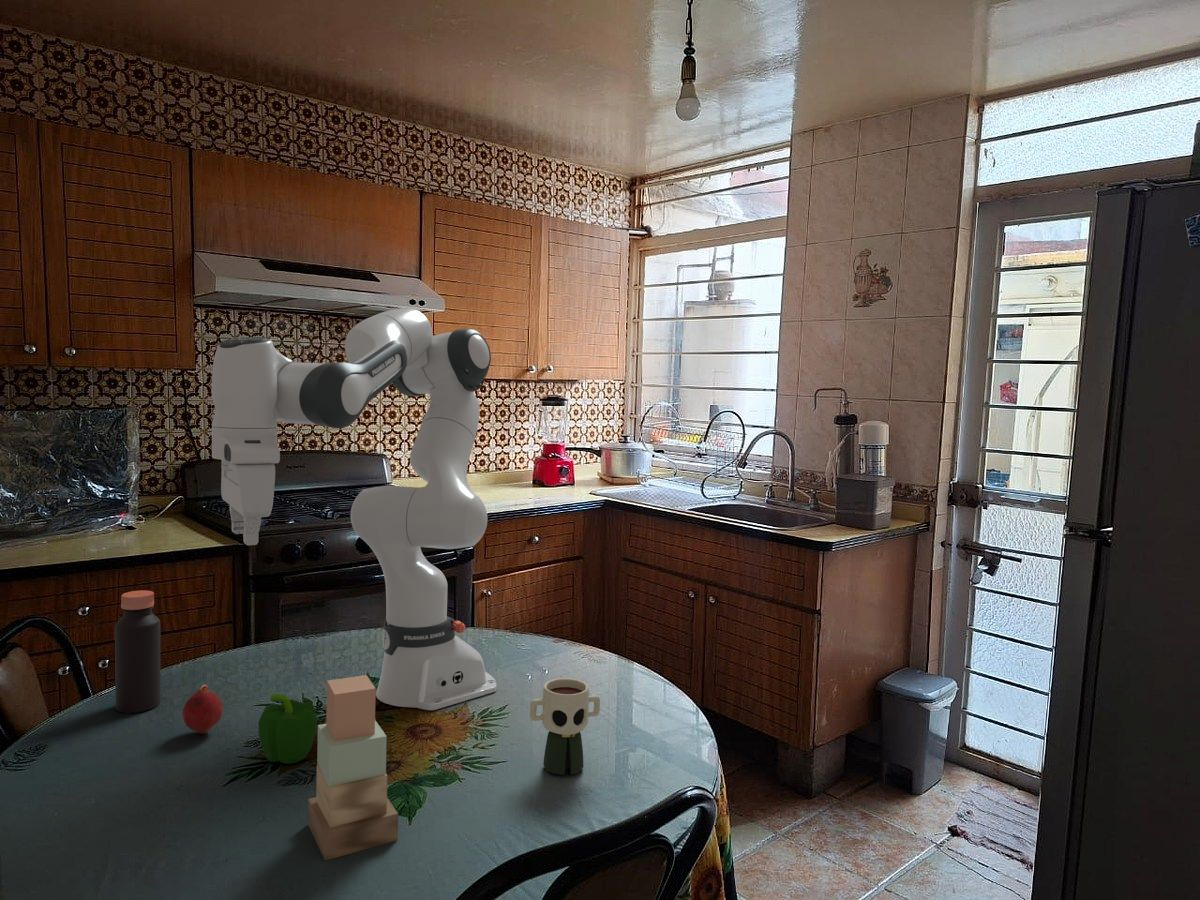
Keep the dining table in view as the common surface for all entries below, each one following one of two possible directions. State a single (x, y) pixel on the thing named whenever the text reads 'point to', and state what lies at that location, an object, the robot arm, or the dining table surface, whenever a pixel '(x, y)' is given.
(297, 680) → the dining table surface
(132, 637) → the bottle
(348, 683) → the terracotta block
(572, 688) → the character mug
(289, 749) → the bell pepper
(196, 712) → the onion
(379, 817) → the walnut slab
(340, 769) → the sage cube
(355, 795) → the oak cube
